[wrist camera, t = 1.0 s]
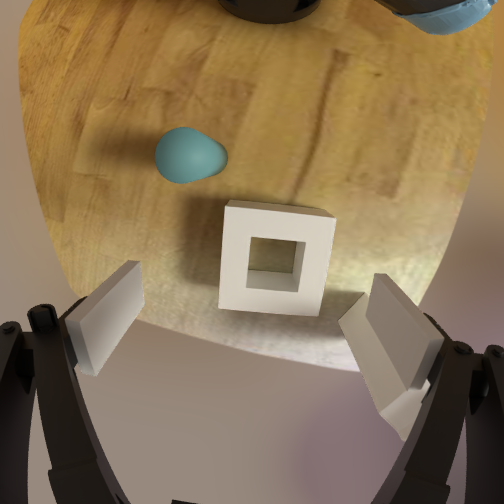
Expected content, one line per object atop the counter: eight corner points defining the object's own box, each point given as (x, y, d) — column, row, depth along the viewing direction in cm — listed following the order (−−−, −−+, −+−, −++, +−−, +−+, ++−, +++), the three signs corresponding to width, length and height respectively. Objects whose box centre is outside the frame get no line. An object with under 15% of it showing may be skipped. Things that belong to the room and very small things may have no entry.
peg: (193, 139, 34) (157, 126, 21) (229, 141, 34) (212, 128, 21) (190, 174, 35) (153, 182, 22) (226, 177, 35) (207, 185, 22)
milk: (337, 320, 41) (385, 436, 20) (365, 291, 40) (437, 394, 19) (362, 339, 42) (414, 448, 21) (389, 312, 41) (460, 411, 20)
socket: (230, 199, 36) (225, 206, 31) (324, 209, 36) (336, 218, 31) (223, 287, 40) (218, 308, 34) (310, 295, 40) (318, 316, 34)
